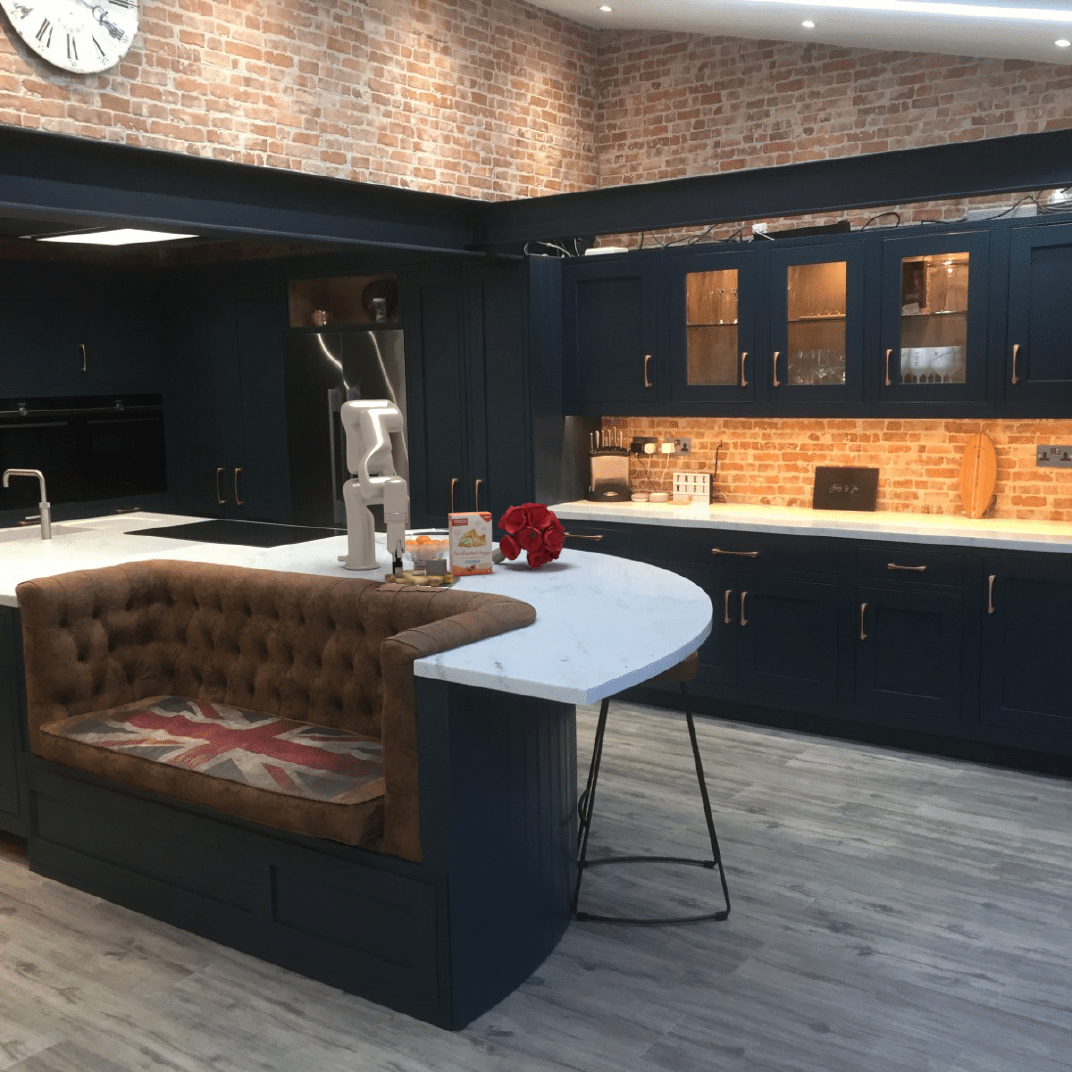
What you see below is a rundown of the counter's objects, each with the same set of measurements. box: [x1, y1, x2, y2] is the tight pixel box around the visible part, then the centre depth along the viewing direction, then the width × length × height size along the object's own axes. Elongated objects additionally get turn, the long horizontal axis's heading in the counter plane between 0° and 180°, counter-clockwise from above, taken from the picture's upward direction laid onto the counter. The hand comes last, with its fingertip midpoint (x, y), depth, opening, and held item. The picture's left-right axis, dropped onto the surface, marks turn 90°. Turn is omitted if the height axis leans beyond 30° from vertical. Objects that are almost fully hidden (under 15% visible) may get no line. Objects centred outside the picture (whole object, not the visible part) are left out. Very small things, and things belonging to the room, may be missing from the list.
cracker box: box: [448, 511, 493, 577], centre depth 396 cm, size 14×6×21 cm, turn 105°
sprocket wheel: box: [384, 566, 454, 587], centre depth 378 cm, size 22×22×5 cm
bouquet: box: [492, 502, 566, 569], centre depth 409 cm, size 22×24×30 cm
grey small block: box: [424, 557, 448, 576], centre depth 377 cm, size 6×4×5 cm, turn 78°
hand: (397, 573), depth 378 cm, fingers closed
